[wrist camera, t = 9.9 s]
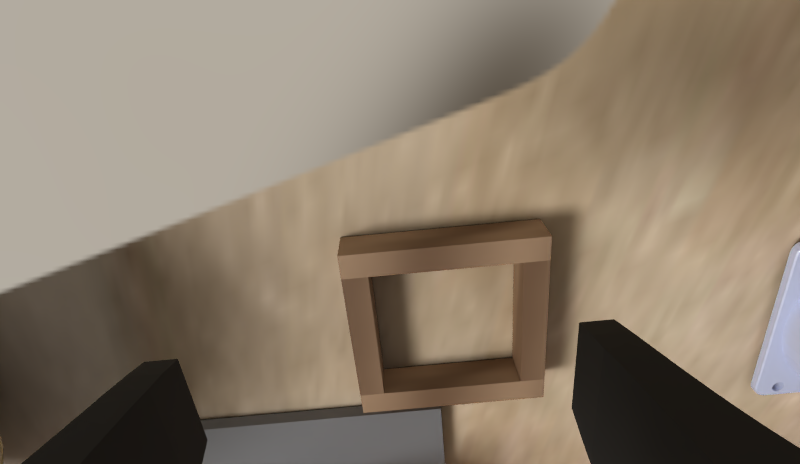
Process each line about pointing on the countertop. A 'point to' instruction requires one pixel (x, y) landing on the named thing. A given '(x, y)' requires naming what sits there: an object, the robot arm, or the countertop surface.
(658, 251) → the countertop surface
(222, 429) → the rubber mat
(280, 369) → the countertop surface
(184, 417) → the robot arm
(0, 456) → the cantaloupe
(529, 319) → the square wooden frame
